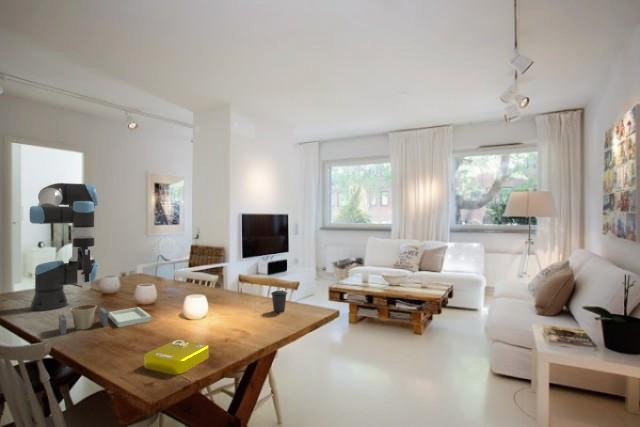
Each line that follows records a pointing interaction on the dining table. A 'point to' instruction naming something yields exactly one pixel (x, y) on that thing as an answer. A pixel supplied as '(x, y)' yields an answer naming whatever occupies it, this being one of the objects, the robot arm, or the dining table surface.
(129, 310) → the tray
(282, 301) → the coffee cup
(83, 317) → the flower pot
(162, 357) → the element tile
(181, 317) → the dining table surface
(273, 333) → the dining table surface
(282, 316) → the dining table surface
